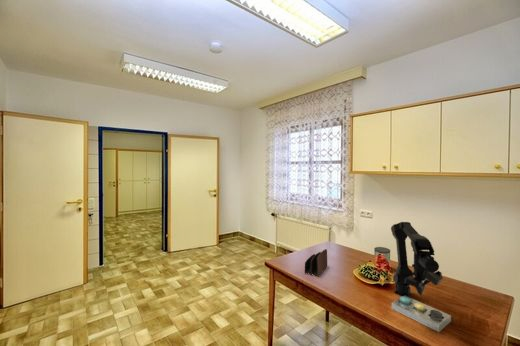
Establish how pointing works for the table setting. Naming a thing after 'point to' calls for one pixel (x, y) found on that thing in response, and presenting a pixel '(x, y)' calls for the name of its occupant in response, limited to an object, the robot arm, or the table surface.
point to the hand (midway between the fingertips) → (420, 294)
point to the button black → (436, 315)
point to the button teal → (405, 301)
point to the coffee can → (383, 252)
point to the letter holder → (316, 263)
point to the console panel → (422, 314)
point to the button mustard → (420, 307)
